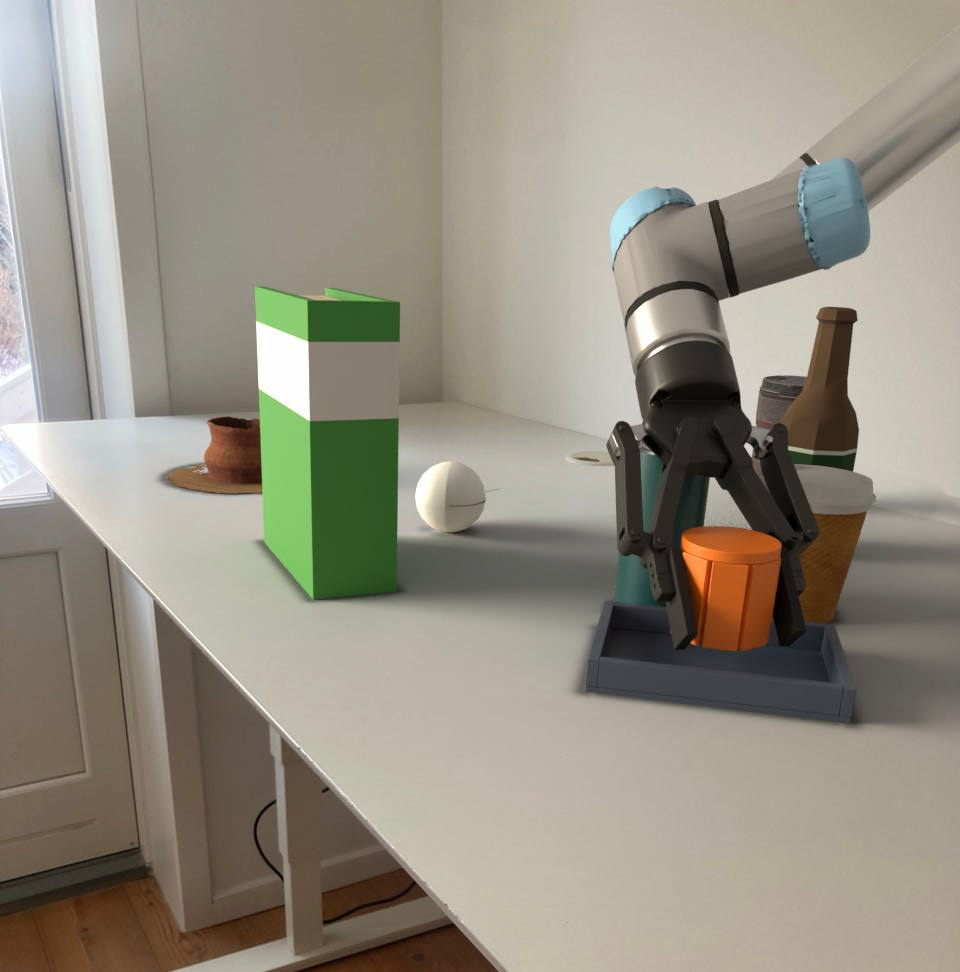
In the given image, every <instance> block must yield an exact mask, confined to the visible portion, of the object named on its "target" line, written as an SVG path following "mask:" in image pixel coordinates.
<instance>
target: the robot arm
mask: <svg viewBox="0 0 960 972" xmlns="http://www.w3.org/2000/svg"><path fill="white" fill-rule="evenodd" d="M958 143H960V23H959V24H958V25H957V26H955V28H953V29H952V30H951V31H950V32H948V33H947V34H946V35H945V36H943V38H941V39H940V40H939V41H938V42H936V43H935V44H934V45H933V46H932V47H930V48H929V49H928V50H927V51H926V52H924V53H923V54H922V55H921V56H919V57H918V58H917V59H915V60H914V61H913V62H912V63H911V64H909V66H908V67H906V68H905V69H903V70H902V71H900V73H899V74H898V75H896V76H895V77H894V78H893V79H891V80H890V81H889V82H888V83H886V84H885V85H884V86H883V87H881V89H879V90H878V91H877V92H876V93H875V94H874V95H872V96H871V97H870V98H869V99H867V100H866V101H864V102H863V104H861V105H859V107H858V108H857V109H855V110H854V111H853V112H851V113H850V114H849V115H848V116H846V117H845V118H844V119H843V120H842V121H841V122H839V123H838V124H837V125H835V127H833V128H832V129H831V130H829V132H827V133H826V134H825V135H823V137H820V139H819V140H818V141H816V142H815V143H814V144H812V145H811V146H810V147H809V148H807V150H805V151H804V152H803V154H801V155H800V156H799V157H798V158H796V159H795V160H793V161H792V162H791V163H790V164H789V165H787V166H786V167H785V168H783V169H782V170H781V171H780V172H778V173H777V175H775V176H774V177H773V178H772V179H770V180H768V181H766V182H763V183H759V184H756V185H754V186H752V187H749V188H746V189H743V190H740V191H738V192H735V193H732V194H730V195H727V196H725V197H724V196H723V197H722V198H719V199H713V200H711V201H705V202H701V203H699V204H696V202H695V200H694V199H693V197H692V195H690V194H689V193H688V192H686V191H684V190H682V189H681V188H678V187H674V186H670V187H669V188H661V187H659V186H653V187H649V188H646V189H643V190H641V191H638V192H636V193H635V194H633V195H631V196H630V197H629V198H628V199H626V200H625V201H624V202H623V203H622V204H621V206H619V208H618V209H617V210H616V212H615V213H614V215H613V217H612V220H611V223H610V228H609V240H610V248H611V258H612V260H611V269H612V273H613V277H614V282H615V286H616V292H617V297H618V302H619V306H620V311H621V316H622V319H623V325H624V331H625V336H626V337H625V338H626V341H627V347H628V353H629V358H630V363H631V367H632V369H631V370H632V373H633V375H634V377H635V378H634V379H635V380H634V385H635V391H636V396H637V401H638V406H639V412H640V417H641V419H642V423H640V424H636V425H630V423H628V422H627V421H625V420H619V421H617V422H616V423H615V425H614V427H613V429H612V431H611V434H610V436H609V437H608V439H607V442H606V446H605V447H606V449H607V452H608V455H609V457H610V459H611V461H612V464H613V466H614V479H615V480H614V485H615V487H614V489H615V491H614V492H615V513H616V514H615V519H616V520H615V521H616V523H615V524H616V548H617V552H618V554H619V553H620V554H621V555H623V556H629V555H631V554H632V555H636V556H639V557H641V558H640V564H641V565H642V566H643V567H644V568H646V569H648V574H649V580H650V585H651V591H652V596H653V597H654V599H655V601H656V602H666V607H667V613H668V618H669V624H670V629H671V635H672V640H673V646H674V650H684V649H685V648H686V647H687V646H688V645H689V644H690V643H691V641H692V640H693V639H694V638H695V637H696V636H697V635H698V630H697V625H696V620H695V615H694V610H693V605H692V599H691V594H690V589H689V584H688V579H687V574H686V568H685V563H684V558H683V553H682V548H671V549H670V550H668V545H669V543H670V539H671V534H672V530H673V525H674V521H675V516H676V512H677V507H678V503H679V498H680V494H681V489H682V484H683V480H684V477H693V476H697V475H701V476H705V477H709V478H710V479H711V478H712V479H713V478H714V479H715V481H716V482H717V484H718V485H719V487H720V488H721V490H723V491H727V493H728V494H729V495H730V497H731V499H732V500H733V502H734V503H735V505H736V507H737V508H738V510H739V511H740V512H741V514H742V516H743V518H744V519H745V521H746V522H747V525H749V527H750V529H751V530H754V531H758V532H761V533H765V534H767V535H770V536H772V537H774V538H776V539H777V540H779V541H780V542H781V544H782V548H781V554H780V558H781V564H780V571H779V577H778V583H777V590H776V596H775V602H774V609H773V619H774V623H775V628H776V632H777V637H778V641H779V645H780V647H781V646H790V645H792V644H793V643H794V642H795V641H796V640H797V639H798V638H799V637H800V636H801V635H803V634H804V633H805V632H806V631H807V630H806V626H805V622H804V618H803V613H802V609H801V605H800V601H799V597H798V596H799V595H800V594H801V593H802V592H803V591H804V590H805V580H804V577H803V576H804V575H803V572H802V567H801V563H800V559H799V555H798V554H802V553H803V552H804V551H805V550H806V549H807V548H808V547H809V546H810V545H811V544H812V543H813V542H814V541H815V539H816V538H817V537H818V536H819V534H820V531H819V528H818V525H817V523H816V520H815V517H814V515H813V512H812V510H811V507H810V505H809V502H808V499H807V497H806V494H805V492H804V489H803V487H802V484H801V481H800V479H799V476H798V474H797V471H796V469H795V466H794V463H793V461H792V458H791V456H790V453H789V450H788V429H787V427H786V426H785V425H784V424H781V423H777V424H775V425H774V426H773V427H772V429H766V428H761V427H756V426H755V425H752V422H751V420H750V419H749V417H748V416H747V415H746V414H745V412H744V411H743V408H742V398H741V389H740V384H739V381H738V377H737V371H736V368H735V364H734V359H733V356H732V355H731V345H730V340H729V337H728V332H727V328H726V325H725V322H724V321H725V320H724V318H723V314H722V310H721V306H720V301H723V300H727V299H731V298H733V297H737V296H739V295H741V294H744V293H748V292H751V291H754V290H755V291H756V290H758V289H761V288H765V287H767V286H771V285H775V284H778V283H779V284H780V283H782V282H785V281H789V280H792V279H794V278H798V277H802V276H805V275H808V274H811V273H814V272H817V271H820V270H824V271H827V270H830V269H831V268H833V267H835V266H836V265H838V264H841V263H844V262H847V261H849V260H852V259H855V258H858V257H860V256H861V255H863V254H864V253H865V252H866V251H867V249H868V248H869V245H870V241H871V225H870V224H871V223H870V215H869V212H870V211H872V210H873V209H874V208H875V207H877V206H878V205H879V204H880V203H882V202H883V201H884V200H886V199H888V197H889V196H891V195H892V194H893V193H895V192H896V191H898V190H899V189H901V187H902V186H904V185H905V184H906V183H908V182H909V181H910V180H911V179H913V178H915V176H917V175H918V174H919V173H921V172H922V171H923V170H924V169H926V168H927V167H928V166H929V165H930V166H931V164H932V163H933V162H935V161H936V160H938V158H941V156H942V155H944V154H945V153H947V152H948V151H949V150H950V149H952V148H953V147H954V146H956V145H957V144H958ZM643 443H644V444H645V445H646V446H647V447H648V448H649V449H650V450H651V451H652V452H653V453H654V454H655V455H656V456H657V457H658V458H659V459H660V460H661V461H662V462H663V464H662V468H661V472H660V477H659V481H658V485H659V486H658V491H657V495H656V499H655V504H654V508H653V512H652V517H651V521H650V525H649V530H648V533H647V532H644V530H643V507H642V483H641V460H640V450H641V448H642V446H643ZM746 444H748V445H750V446H751V448H752V451H753V450H754V453H755V454H754V457H755V458H756V459H760V467H761V471H762V474H763V477H764V480H765V482H766V485H767V488H768V490H769V492H768V490H767V489H766V487H765V486H764V484H763V483H762V481H761V480H760V478H759V477H758V475H757V473H756V472H755V470H754V469H753V460H752V458H751V457H752V455H750V453H749V452H748V450H747V448H746V447H745V446H746Z"/></svg>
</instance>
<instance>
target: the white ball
mask: <svg viewBox="0 0 960 972" xmlns="http://www.w3.org/2000/svg"><path fill="white" fill-rule="evenodd" d="M499 490H500V488H496V489H491V490H485V486H484V483H483V481H482V479H481V476H480V475H479V474H478V473H477V472H476V471H474V469H473V468H471V467H470V466H468V465H466V464H464V463H462V462H459V461H450V460H449V461H442V462H439V463H437V464H435V465H432V466H430V467H429V469H427V470H426V471H425V472H424V473H423V474H422V476H421V477H420V479H419V481H418V482H417V485H416V491H415V505H416V509H417V511H418V513H419V515H420V517H421V519H422V520H423V521H424V522H425V523H426V524H427V525H428V526H430V527H431V528H433V529H435V530H438V531H439V532H443V533H448V534H450V533H452V534H453V533H458V532H461V531H464V530H467V529H470V527H471V526H472V525H473V524H475V523H476V522H477V521H478V520H479V518H480V517H481V515H482V513H483V512H484V508H485V505H486V501H487V500H486V499H487V498H486V493H489V492H490V493H491V492H493V491H499Z"/></svg>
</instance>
